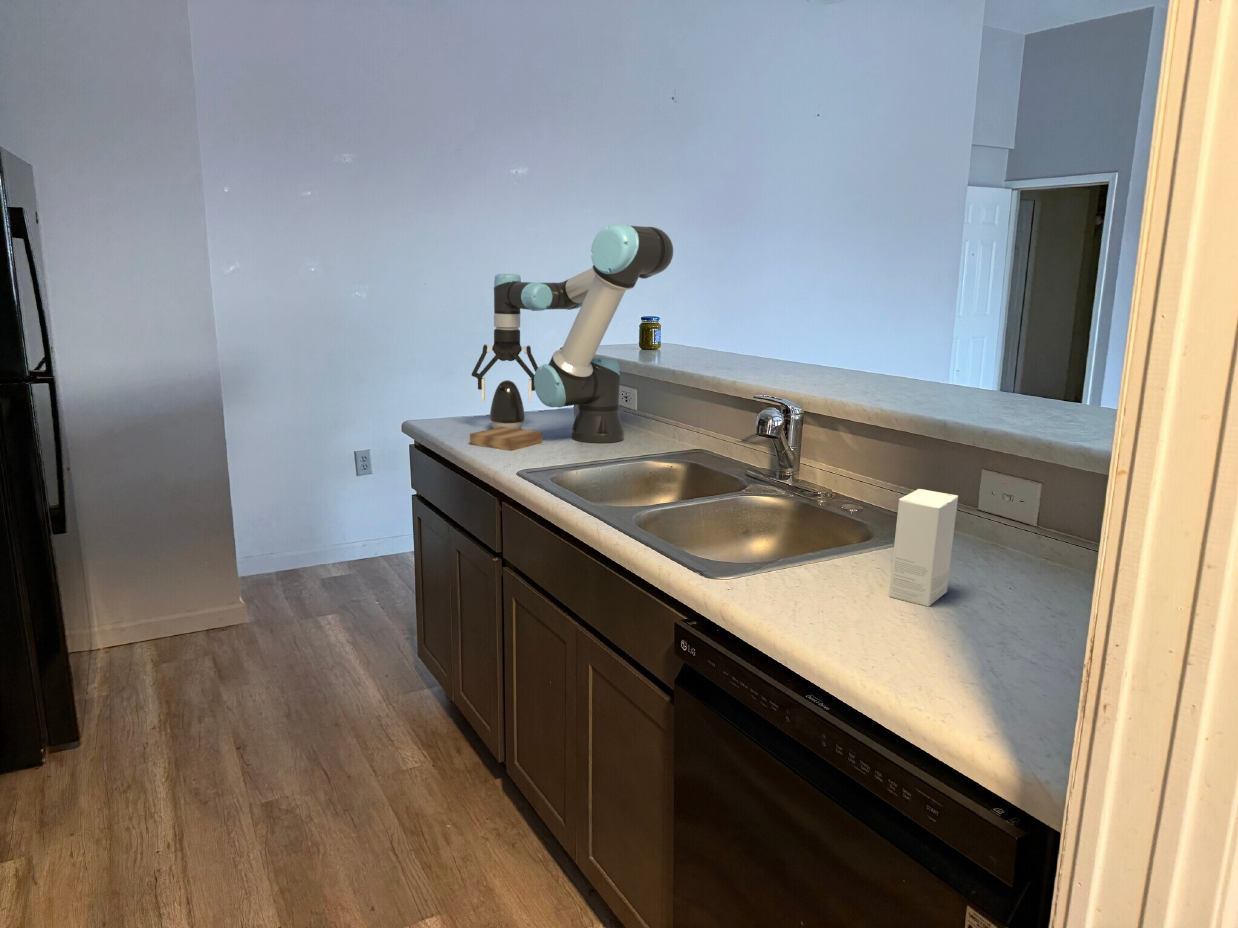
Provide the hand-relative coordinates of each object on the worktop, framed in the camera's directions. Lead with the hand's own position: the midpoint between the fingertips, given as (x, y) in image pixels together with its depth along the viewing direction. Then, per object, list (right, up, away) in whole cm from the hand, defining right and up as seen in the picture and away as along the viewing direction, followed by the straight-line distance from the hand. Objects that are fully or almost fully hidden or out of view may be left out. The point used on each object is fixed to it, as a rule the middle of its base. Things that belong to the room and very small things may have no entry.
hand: (506, 401), depth 262 cm
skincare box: (+79, -39, -126) cm, 154 cm away
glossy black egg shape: (0, -9, +2) cm, 9 cm away
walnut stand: (+2, -13, -16) cm, 21 cm away
